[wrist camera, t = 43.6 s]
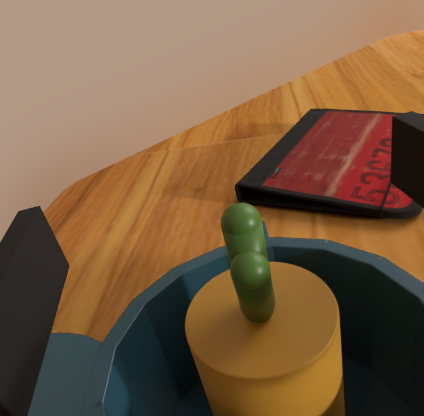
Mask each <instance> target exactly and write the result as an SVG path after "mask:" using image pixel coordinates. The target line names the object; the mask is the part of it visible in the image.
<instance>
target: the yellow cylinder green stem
mask: <svg viewBox="0 0 424 416" xmlns="http://www.w3.org/2000/svg"><path fill="white" fill-rule="evenodd" d="M221 227H222V232H223V236H224V240H225V244H226V249H227V253H228V257H229V262H230V266H231V267H230V269H229V270H227V271H225V272H223V273H221V274H219V275H218V276H216V277H214V278H213V279H212V280H210V281H209V282H208V283H206V284H205V285H204V286H203V287H202V288H201V289H200V290H199V292H198V293H197V294H196V295H195V297H194V298H193V300H192V302H191V304H190V306H189V308H188V311H187V315H186V320H185V333H186V338H187V341H188V344H189V347H190V350H191V353H192V355H193V358H194V361H195V364H196V367H197V370H198V373H199V376H200V378H201V381H202V384H203V387H204V390H205V393H206V396H207V399H208V401H209V404H210V407H211V410H212V413H213V416H345V405H344V387H343V369H342V352H341V334H340V316H339V308H338V304H337V301H336V298H335V296H334V294H333V292H332V291H331V290H330V288H329V287H328V286H327V284H326V283H325V282H324V281H323V280H322V279H320V278H319V277H318V276H316V275H315V274H313V273H311V272H310V271H308V270H306V269H303V268H301V267H298V266H295V265H292V264H287V263H281V262H269V260H268V254H267V248H266V242H265V236H264V230H263V224H262V219H261V216H260V214H259V212H258V210H257V209H256V208H255V207H253V206H252V205H250V204H247V203H236V204H233V205H231V206H230V207H228V208H227V209H226V210H225V212H224V213H223V216H222V219H221Z"/></svg>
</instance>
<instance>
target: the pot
mask: <svg viewBox="0 0 424 416" xmlns="http://www.w3.org/2000/svg"><path fill="white" fill-rule="evenodd" d="M262 224H263V230H264V236H265V242H266V248H267V254H268V260H269V262H281V263H287V264H292V265H295V266H298V267H301V268H303V269H306V270H308V271H310V272H311V273H313V274H315V275H316V276H318V277H319V278H320V279H322V280H323V281H324V282H325V283H326V284H327V286H328V287H329V288H330V290H331V291H332V292H333V294H334V296H335V298H336V301H337V304H338V308H339V316H340V334H341V352H342V369H343V387H344V405H345V416H424V283H423V282H421V281H420V280H418V279H417V278H415V277H414V276H412V275H411V274H409V273H407V272H406V271H404V270H403V269H401V268H400V267H398V266H397V265H395V264H394V263H392V262H391V261H389V260H388V259H386V258H384V257H382V256H379V255H376V254H372V253H369V252H366V251H362V250H359V249H356V248H353V247H349V246H346V245H343V244H340V243H336V242H333V241H330V240H325V239H305V238H285V237H273V238H272V237H271V238H269V235H268V231H267V228H266V224H265V221H262ZM230 267H231V266H230V262H229V257H228V253H227V249H226V246H223V247H219V248H217V249H214V250H212V251H210V252H208V253H205V254H203V255H201V256H199V257H196V258H194V259H192V260H190V261H187V262H185V263H183V264H181V265H178V266H176V267H175V268H172V269H171V270H170V271H169V272H167V273H166V274H165V275H163V276H162V277H161V278H160V279H158V280H157V281H156V282H155V283H153V284H152V285H151V286H150V287H148V288H147V289H146V290H144V291H143V292H142V293H141V294H139V295H138V296H137V297H136V298H134V299H133V300H132V301H131V302H130V304H129V305H128V307H127V308H126V309H125V311H124V312H123V314H122V315H121V316H120V318H119V319H118V321H117V322H116V324H115V325H114V326H113V328H112V329H111V331H110V332H109V334H108V335H107V336H106V338H105V339H104V341H103V342H102V343H101V345H100V346H99V348H98V350H97V354H96V358H95V361H94V365H93V369H92V372H91V376H90V379H89V383H88V387H87V390H86V394H85V397H84V401H83V405H82V408H81V416H213V413H212V410H211V407H210V404H209V401H208V399H207V396H206V393H205V390H204V387H203V384H202V381H201V378H200V376H199V373H198V370H197V367H196V364H195V361H194V358H193V355H192V353H191V350H190V347H189V344H188V341H187V338H186V333H185V320H186V315H187V311H188V308H189V306H190V304H191V302H192V300H193V298H194V297H195V295H196V294H197V293H198V292H199V290H200V289H201V288H202V287H203V286H204V285H205V284H206V283H208V282H209V281H210V280H212V279H213V278H214V277H216V276H218V275H219V274H221V273H223V272H225V271H227V270H229V269H230Z"/></svg>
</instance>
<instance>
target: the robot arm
mask: <svg viewBox="0 0 424 416" xmlns="http://www.w3.org/2000/svg"><path fill="white" fill-rule="evenodd" d="M390 183H392V184H393V185H394V186H395V187H397V188H398V189H399V190H401V191H402V192H403V193H405V194H406V195H407V196H408V197H410V198H411V199H412V200H414V201H415V202H416V203H417V204H419V205H420V206H421V207H423V208H424V116H422V115H419V114H417V113H415V112H413V111H411V112H407V113H403V114H399V115H396V116H392V140H391V174H390ZM68 269H69V264H68V262H67V260H66V258H65V256H64V254H63V252H62V250H61V248H60V246H59V244H58V242H57V240H56V238H55V236H54V234H53V232H52V230H51V228H50V226H49V224H48V222H47V220H46V218H45V216H44V214H43V212H42V210H41V208H40V206H37V207H33V208H29V209H25V210H22V211H19V212H18V213H17V215H16V216H15V218H14V220H13V222H12V223H11V225H10V227H9V229H8V230H7V232H6V234H5V236H4V237H3V239H2V241H1V242H0V416H28V412H29V409H30V405H31V402H32V398H33V395H34V391H35V387H36V384H37V380H38V377H39V373H40V369H41V366H42V362H43V359H44V355H45V352H46V348H47V344H48V341H49V337H50V334H51V330H52V326H53V323H54V319H55V316H56V312H57V309H58V305H59V301H60V298H61V294H62V291H63V287H64V283H65V280H66V276H67V273H68Z"/></svg>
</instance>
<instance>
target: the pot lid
mask: <svg viewBox="0 0 424 416" xmlns="http://www.w3.org/2000/svg"><path fill="white" fill-rule="evenodd" d="M100 345H101V342H100V341H97V340H95V339H93V338H91V337H88V336H84V335H80V334H73V333H52V334H50V337H49V341H48V344H47V348H46V352H45V355H44V359H43V362H42V366H41V369H40V373H39V377H38V380H37V384H36V387H35V391H34V395H33V398H32V402H31V405H30V409H29V412H28V416H81V408H82V405H83V401H84V397H85V394H86V390H87V387H88V383H89V379H90V376H91V372H92V369H93V365H94V361H95V358H96V354H97V350H98V348H99V346H100Z"/></svg>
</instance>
